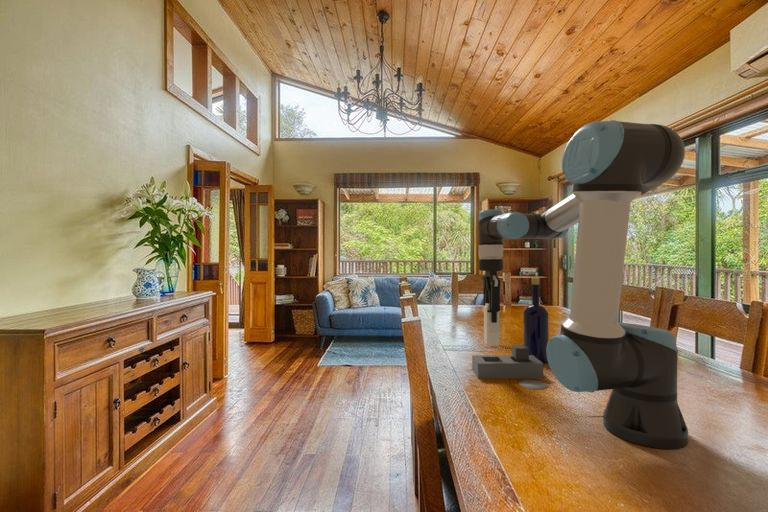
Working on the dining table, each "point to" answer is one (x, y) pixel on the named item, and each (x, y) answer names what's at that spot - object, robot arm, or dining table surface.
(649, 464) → the dining table surface
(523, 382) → the coaster
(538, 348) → the bottle
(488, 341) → the plug
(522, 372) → the strip
